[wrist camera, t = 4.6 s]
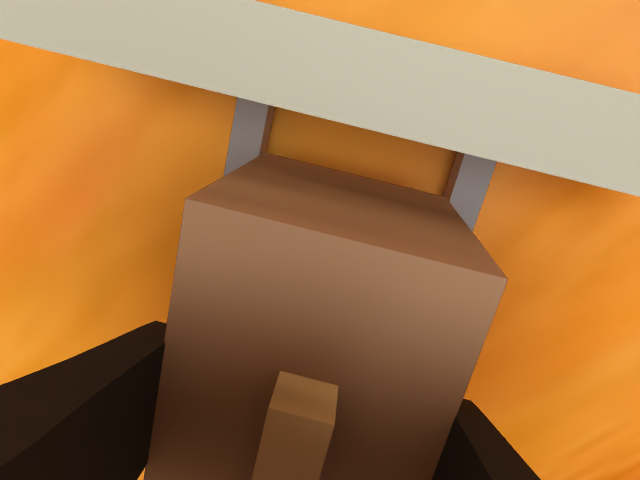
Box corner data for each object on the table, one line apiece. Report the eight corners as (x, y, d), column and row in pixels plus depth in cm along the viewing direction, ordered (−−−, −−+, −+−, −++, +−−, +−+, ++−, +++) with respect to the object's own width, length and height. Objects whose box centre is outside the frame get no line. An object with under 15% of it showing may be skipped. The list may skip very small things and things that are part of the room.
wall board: (535, 362, 18) (627, 507, 12) (107, 253, 18) (-29, 337, 12) (637, 120, 15) (827, 139, 9) (135, -2, 16) (-22, -67, 9)
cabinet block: (369, 438, 15) (370, 701, 9) (217, 398, 16) (103, 629, 9) (446, 196, 13) (529, 307, 6) (265, 152, 13) (158, 214, 6)
